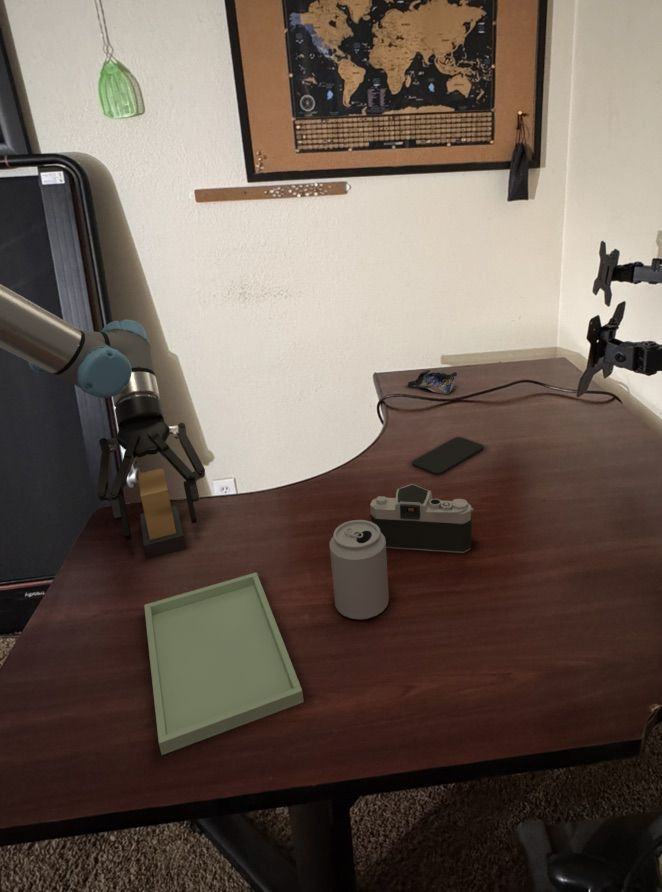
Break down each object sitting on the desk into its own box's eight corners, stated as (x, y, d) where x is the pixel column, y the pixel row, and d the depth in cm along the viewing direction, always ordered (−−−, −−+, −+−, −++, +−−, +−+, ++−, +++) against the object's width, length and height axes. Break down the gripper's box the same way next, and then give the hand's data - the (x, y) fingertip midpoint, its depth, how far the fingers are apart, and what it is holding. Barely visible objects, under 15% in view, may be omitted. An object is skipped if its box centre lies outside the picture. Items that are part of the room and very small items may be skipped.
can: (377, 629, 82) (373, 552, 78) (326, 617, 85) (318, 542, 81) (396, 593, 89) (393, 520, 85) (347, 583, 91) (342, 512, 87)
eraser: (143, 529, 107) (130, 472, 103) (179, 519, 109) (168, 463, 106) (147, 561, 99) (134, 500, 95) (186, 550, 101) (175, 491, 97)
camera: (474, 526, 103) (475, 472, 100) (472, 558, 95) (472, 501, 92) (379, 520, 106) (376, 468, 103) (369, 551, 98) (366, 496, 95)
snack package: (415, 400, 156) (461, 393, 157) (413, 375, 154) (459, 368, 156) (405, 391, 167) (448, 385, 169) (403, 367, 166) (446, 361, 168)
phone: (409, 462, 123) (457, 435, 133) (409, 465, 124) (457, 439, 133) (438, 474, 118) (486, 445, 128) (438, 478, 119) (486, 449, 128)
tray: (146, 616, 87) (144, 604, 86) (258, 583, 92) (256, 571, 92) (162, 757, 66) (158, 743, 66) (304, 704, 72) (302, 690, 71)
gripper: (203, 400, 115) (230, 517, 107) (71, 425, 107) (90, 553, 99) (202, 382, 109) (232, 505, 101) (63, 407, 101) (82, 542, 93)
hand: (161, 529), depth 100 cm, fingers open, 9 cm apart
